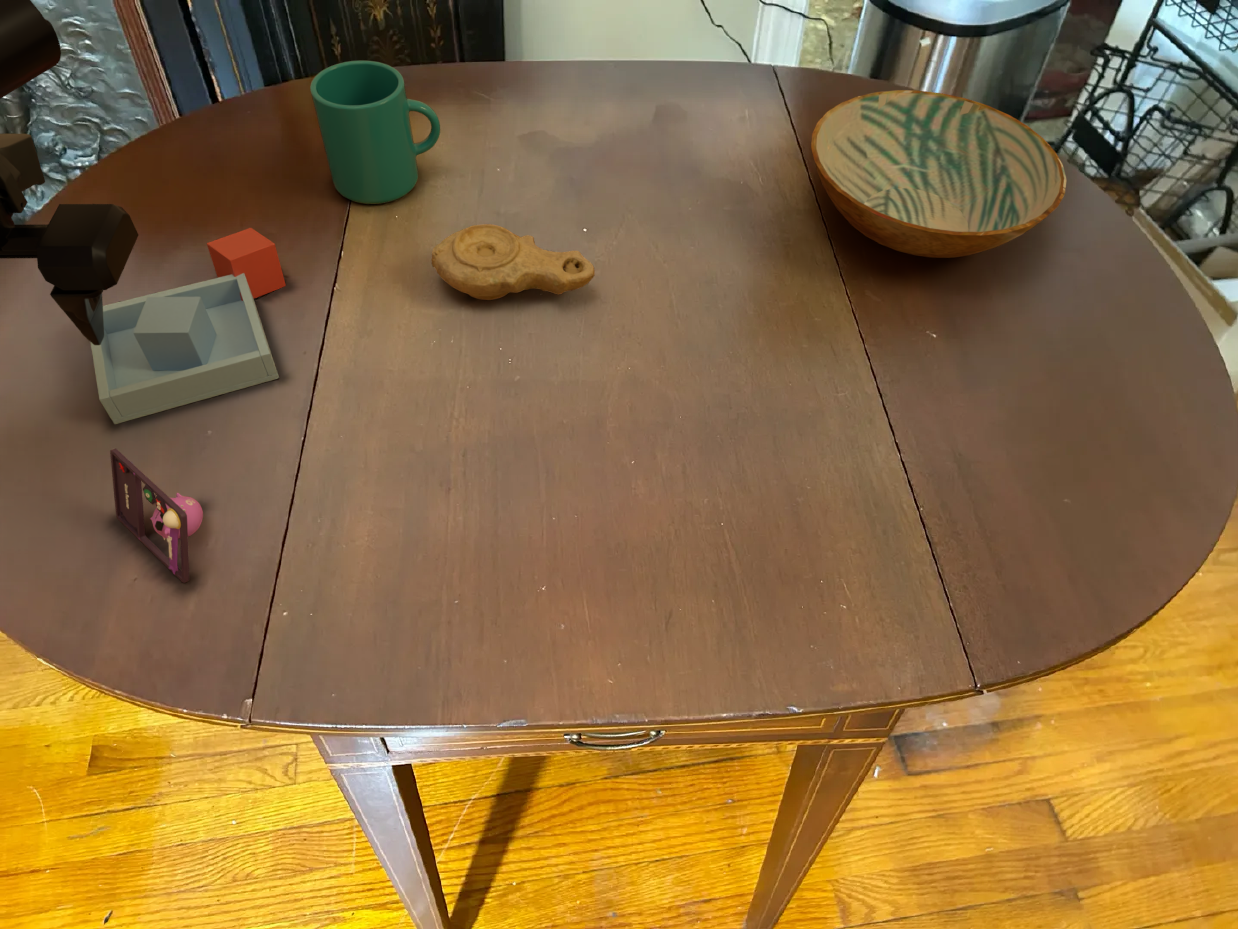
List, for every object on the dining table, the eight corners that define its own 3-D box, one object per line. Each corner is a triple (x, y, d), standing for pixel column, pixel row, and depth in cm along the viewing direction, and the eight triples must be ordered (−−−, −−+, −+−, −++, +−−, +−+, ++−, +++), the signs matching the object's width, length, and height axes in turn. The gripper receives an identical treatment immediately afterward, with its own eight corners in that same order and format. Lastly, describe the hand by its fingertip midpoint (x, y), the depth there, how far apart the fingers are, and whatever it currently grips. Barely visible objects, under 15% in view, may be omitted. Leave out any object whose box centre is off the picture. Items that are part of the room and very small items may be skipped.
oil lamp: (598, 306, 87) (599, 265, 83) (451, 336, 84) (445, 295, 80) (566, 239, 93) (566, 197, 89) (428, 264, 90) (421, 223, 86)
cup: (451, 198, 97) (439, 99, 88) (336, 211, 95) (311, 111, 86) (441, 150, 102) (428, 53, 93) (331, 162, 100) (308, 63, 91)
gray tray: (114, 424, 76) (99, 399, 73) (99, 335, 82) (85, 309, 80) (279, 378, 80) (270, 353, 77) (253, 296, 86) (243, 271, 84)
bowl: (750, 190, 99) (761, 124, 93) (924, 133, 108) (945, 68, 101) (901, 332, 86) (926, 265, 80) (1086, 254, 94) (1122, 188, 88)
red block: (242, 303, 85) (229, 260, 82) (219, 285, 87) (206, 242, 84) (286, 286, 87) (275, 243, 84) (262, 269, 90) (250, 227, 87)
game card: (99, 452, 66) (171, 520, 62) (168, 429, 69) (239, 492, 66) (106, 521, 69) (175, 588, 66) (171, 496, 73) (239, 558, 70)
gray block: (152, 370, 79) (132, 333, 75) (165, 334, 82) (147, 296, 78) (205, 370, 79) (188, 332, 76) (216, 334, 82) (200, 296, 78)
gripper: (113, 75, 58) (194, 267, 70) (-192, 73, 57) (-57, 269, 69) (56, 177, 51) (156, 371, 64) (-293, 177, 50) (-123, 374, 62)
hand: (33, 341), depth 65 cm, fingers open, 9 cm apart
